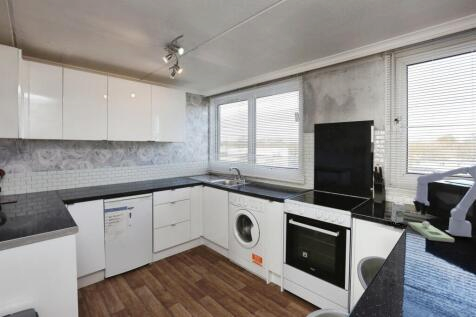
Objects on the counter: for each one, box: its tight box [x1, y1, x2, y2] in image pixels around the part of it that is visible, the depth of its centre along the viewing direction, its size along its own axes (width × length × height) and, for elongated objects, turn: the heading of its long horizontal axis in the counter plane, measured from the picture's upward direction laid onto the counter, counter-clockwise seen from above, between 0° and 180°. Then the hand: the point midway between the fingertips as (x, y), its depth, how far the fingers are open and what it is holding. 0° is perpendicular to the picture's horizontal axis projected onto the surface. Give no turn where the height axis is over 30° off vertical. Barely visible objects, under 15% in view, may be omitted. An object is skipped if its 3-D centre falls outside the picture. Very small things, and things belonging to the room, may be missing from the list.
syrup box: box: [390, 201, 406, 225], centre depth 160 cm, size 6×6×14 cm
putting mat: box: [408, 221, 455, 243], centre depth 142 cm, size 12×26×2 cm, turn 165°
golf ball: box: [422, 220, 431, 228], centre depth 146 cm, size 4×4×4 cm
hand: (420, 213), depth 153 cm, fingers open, 6 cm apart
